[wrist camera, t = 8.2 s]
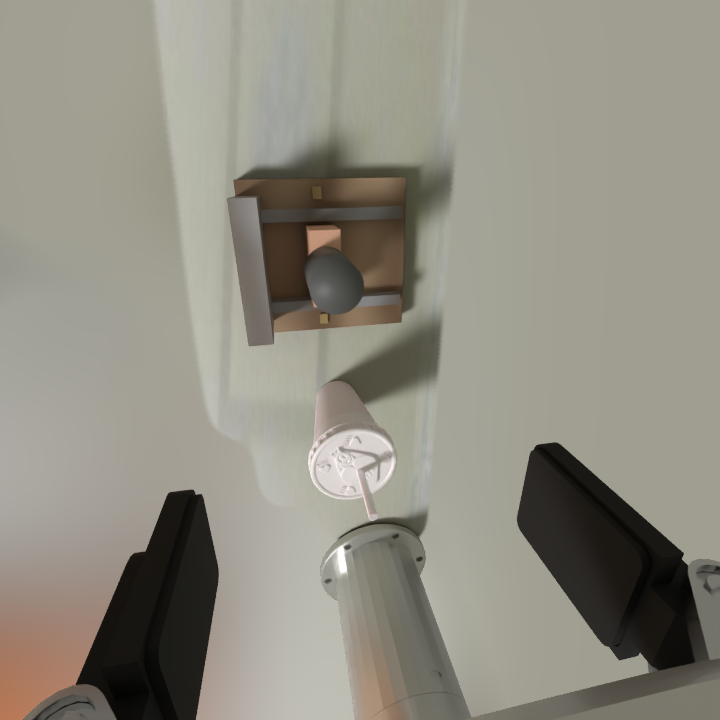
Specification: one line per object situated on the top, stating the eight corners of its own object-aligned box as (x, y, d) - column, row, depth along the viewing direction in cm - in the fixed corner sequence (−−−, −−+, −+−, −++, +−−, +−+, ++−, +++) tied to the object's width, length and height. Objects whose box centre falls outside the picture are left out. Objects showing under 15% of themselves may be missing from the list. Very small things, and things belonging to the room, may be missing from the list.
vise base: (400, 177, 29) (430, 176, 23) (396, 316, 34) (421, 344, 28) (235, 180, 27) (223, 178, 21) (255, 327, 31) (250, 360, 26)
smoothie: (335, 438, 38) (364, 564, 25) (286, 401, 35) (291, 522, 22) (383, 395, 37) (437, 504, 24) (336, 353, 34) (370, 452, 21)
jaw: (339, 223, 28) (363, 239, 20) (342, 291, 30) (364, 329, 22) (298, 225, 27) (306, 241, 20) (303, 294, 29) (312, 333, 22)
